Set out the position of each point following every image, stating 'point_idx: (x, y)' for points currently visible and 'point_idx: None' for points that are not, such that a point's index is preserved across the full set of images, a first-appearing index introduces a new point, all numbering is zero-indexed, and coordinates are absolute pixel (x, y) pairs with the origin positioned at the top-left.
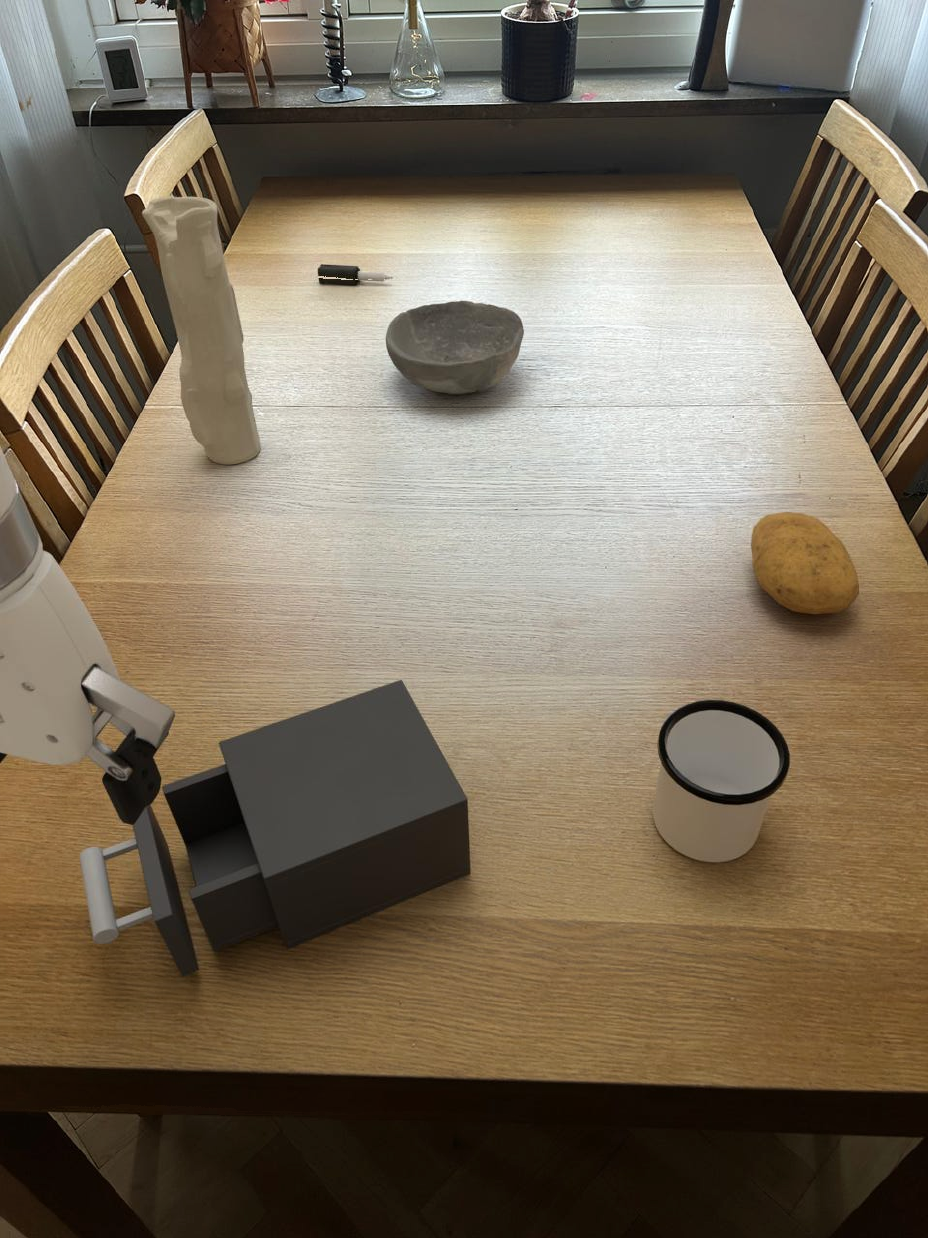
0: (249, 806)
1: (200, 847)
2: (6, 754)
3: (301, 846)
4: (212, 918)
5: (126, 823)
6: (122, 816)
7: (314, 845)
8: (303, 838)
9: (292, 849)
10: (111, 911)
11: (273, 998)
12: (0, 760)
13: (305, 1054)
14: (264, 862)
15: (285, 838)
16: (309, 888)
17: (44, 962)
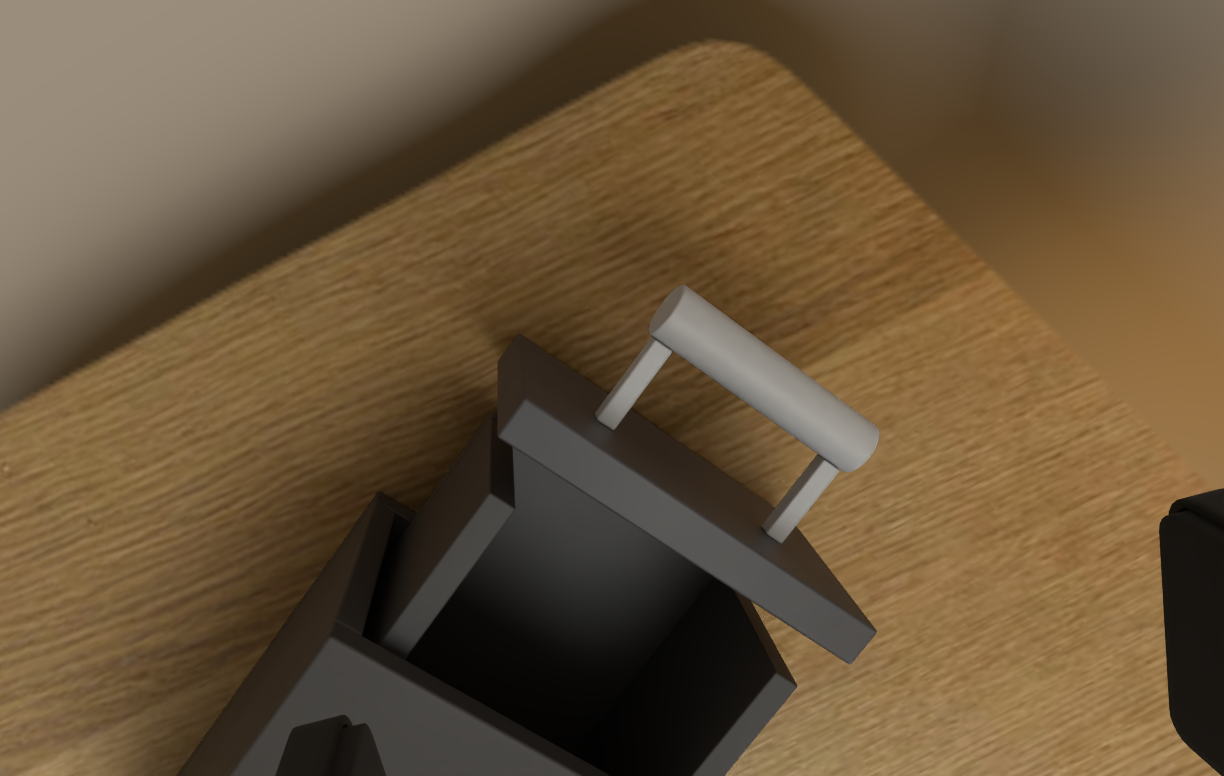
0: (521, 769)
1: (684, 578)
2: (1172, 675)
3: None
4: (475, 473)
5: (316, 722)
6: (310, 759)
7: None
8: None
9: None
10: (695, 363)
11: (330, 396)
12: (1173, 640)
13: (187, 339)
14: (362, 672)
15: None
16: (294, 653)
17: (824, 208)
